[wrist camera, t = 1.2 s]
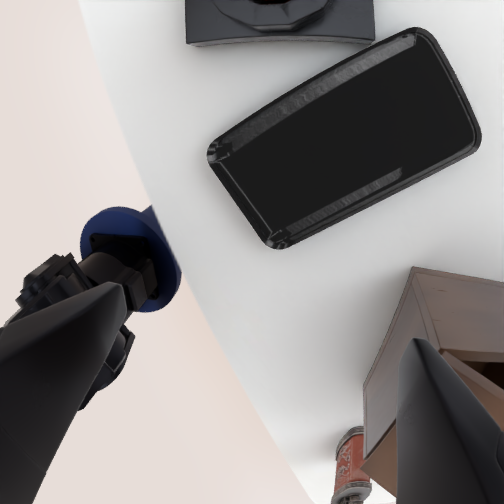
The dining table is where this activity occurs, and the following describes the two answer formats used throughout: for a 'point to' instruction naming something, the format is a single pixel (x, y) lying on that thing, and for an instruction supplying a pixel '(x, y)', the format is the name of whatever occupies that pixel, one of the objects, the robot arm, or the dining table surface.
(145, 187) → the dining table surface
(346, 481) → the lighter
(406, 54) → the phone
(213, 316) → the dining table surface
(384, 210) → the dining table surface
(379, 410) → the chest
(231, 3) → the button base
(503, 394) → the lid
